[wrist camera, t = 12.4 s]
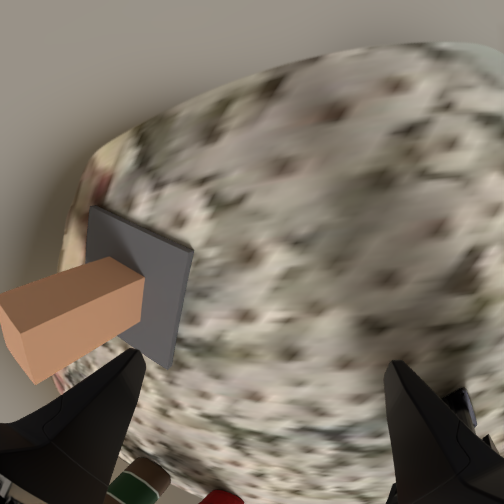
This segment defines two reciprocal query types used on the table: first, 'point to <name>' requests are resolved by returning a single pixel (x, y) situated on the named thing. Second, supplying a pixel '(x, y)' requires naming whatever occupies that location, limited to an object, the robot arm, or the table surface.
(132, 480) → the beer bottle
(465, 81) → the table surface
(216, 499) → the plastic cup
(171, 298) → the mat
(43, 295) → the block
